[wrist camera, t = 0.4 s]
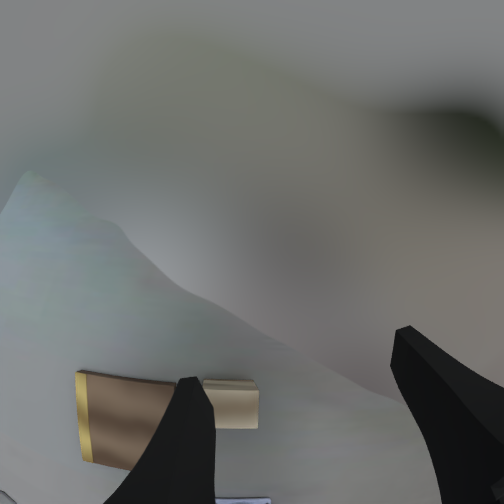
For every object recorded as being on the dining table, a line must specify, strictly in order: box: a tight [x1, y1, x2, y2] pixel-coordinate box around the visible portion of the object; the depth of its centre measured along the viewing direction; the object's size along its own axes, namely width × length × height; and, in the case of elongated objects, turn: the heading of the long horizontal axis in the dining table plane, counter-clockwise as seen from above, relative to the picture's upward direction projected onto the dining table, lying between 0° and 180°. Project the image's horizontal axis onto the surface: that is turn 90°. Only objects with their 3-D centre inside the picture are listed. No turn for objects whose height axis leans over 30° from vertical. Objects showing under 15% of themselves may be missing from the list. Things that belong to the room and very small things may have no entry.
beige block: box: [202, 379, 259, 429], centre depth 32 cm, size 5×6×6 cm
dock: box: [75, 370, 176, 471], centre depth 31 cm, size 13×13×2 cm
